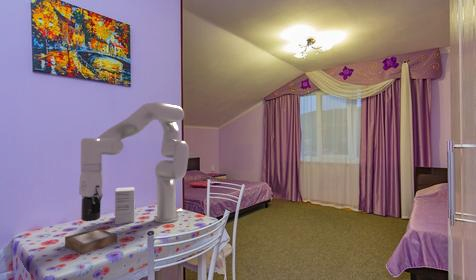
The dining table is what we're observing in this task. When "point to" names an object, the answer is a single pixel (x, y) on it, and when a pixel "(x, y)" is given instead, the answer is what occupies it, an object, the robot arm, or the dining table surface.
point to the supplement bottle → (88, 210)
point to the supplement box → (124, 205)
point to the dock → (90, 240)
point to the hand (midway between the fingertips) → (91, 211)
